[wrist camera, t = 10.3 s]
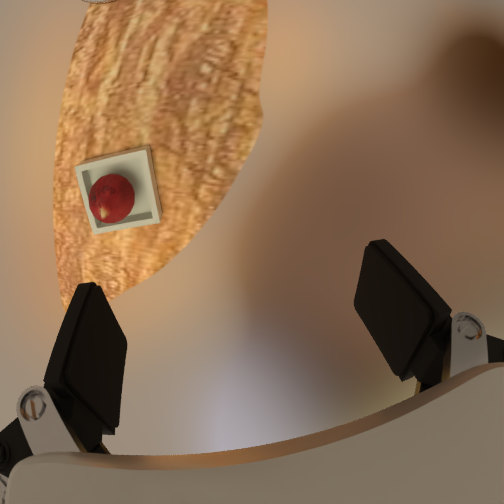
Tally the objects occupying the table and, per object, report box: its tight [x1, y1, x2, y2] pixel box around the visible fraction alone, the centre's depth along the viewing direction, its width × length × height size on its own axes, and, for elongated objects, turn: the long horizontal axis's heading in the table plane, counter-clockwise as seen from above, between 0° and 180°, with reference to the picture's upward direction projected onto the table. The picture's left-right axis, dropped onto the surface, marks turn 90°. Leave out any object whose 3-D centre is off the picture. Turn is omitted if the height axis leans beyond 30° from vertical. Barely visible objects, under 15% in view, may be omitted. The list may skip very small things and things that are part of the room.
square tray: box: [75, 145, 162, 234], centre depth 32 cm, size 10×10×3 cm
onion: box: [88, 174, 135, 223], centre depth 30 cm, size 6×6×8 cm
